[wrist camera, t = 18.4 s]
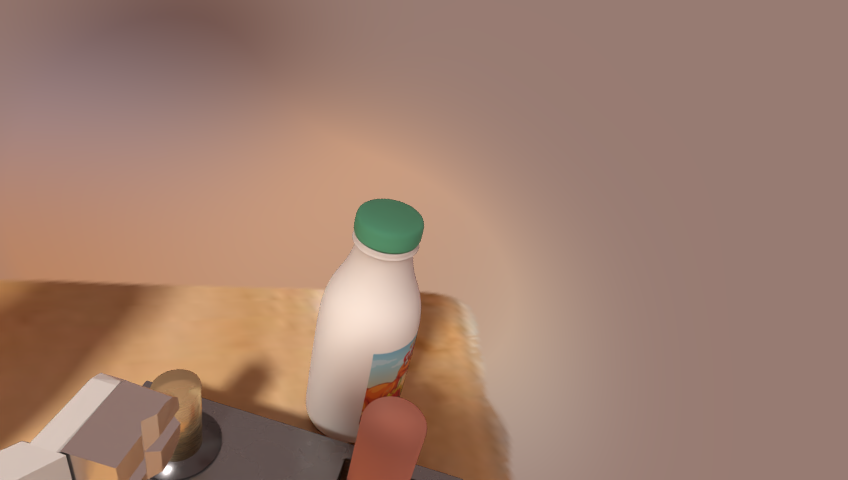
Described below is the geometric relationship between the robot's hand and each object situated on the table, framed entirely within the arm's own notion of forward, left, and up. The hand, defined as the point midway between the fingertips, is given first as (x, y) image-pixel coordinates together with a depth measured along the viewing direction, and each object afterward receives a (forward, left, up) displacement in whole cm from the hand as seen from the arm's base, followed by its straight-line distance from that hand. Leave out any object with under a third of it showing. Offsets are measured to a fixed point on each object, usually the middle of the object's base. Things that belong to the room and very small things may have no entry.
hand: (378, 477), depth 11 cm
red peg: (0, +15, -30) cm, 34 cm away
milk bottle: (-4, +25, -30) cm, 39 cm away
